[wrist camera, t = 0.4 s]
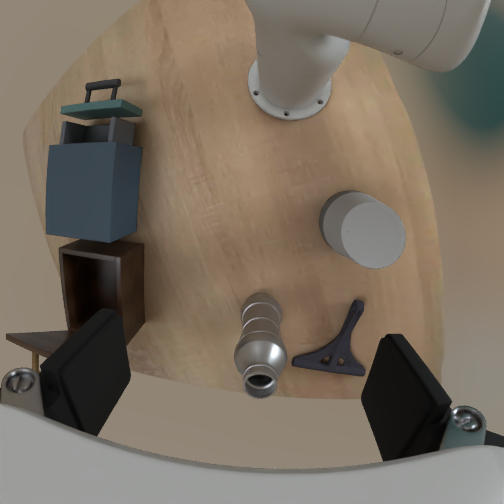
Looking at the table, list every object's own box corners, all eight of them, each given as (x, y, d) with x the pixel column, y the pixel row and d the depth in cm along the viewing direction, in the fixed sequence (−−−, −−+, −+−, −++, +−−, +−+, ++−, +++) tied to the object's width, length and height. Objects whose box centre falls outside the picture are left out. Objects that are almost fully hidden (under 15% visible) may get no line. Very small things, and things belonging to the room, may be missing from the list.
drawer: (89, 91, 38) (66, 81, 31) (146, 85, 38) (127, 71, 31) (77, 184, 42) (52, 186, 35) (133, 186, 42) (111, 188, 35)
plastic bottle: (243, 326, 48) (233, 409, 29) (239, 289, 47) (224, 362, 27) (282, 324, 48) (291, 406, 28) (279, 286, 46) (290, 358, 27)
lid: (5, 333, 25) (6, 376, 24) (71, 360, 25) (71, 409, 24) (66, 330, 40) (65, 363, 39) (124, 346, 40) (122, 382, 39)
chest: (87, 236, 45) (58, 247, 37) (144, 243, 45) (120, 257, 37) (91, 310, 49) (68, 331, 40) (144, 322, 49) (125, 347, 40)
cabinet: (81, 148, 42) (49, 145, 33) (142, 147, 42) (116, 141, 33) (76, 224, 45) (45, 234, 36) (136, 231, 45) (110, 243, 36)
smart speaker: (376, 194, 42) (419, 201, 28) (368, 251, 44) (406, 279, 31) (318, 186, 42) (343, 188, 29) (311, 245, 44) (332, 274, 31)
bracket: (392, 305, 46) (398, 312, 44) (360, 373, 50) (364, 381, 47) (318, 288, 46) (321, 294, 43) (291, 362, 50) (292, 371, 47)
